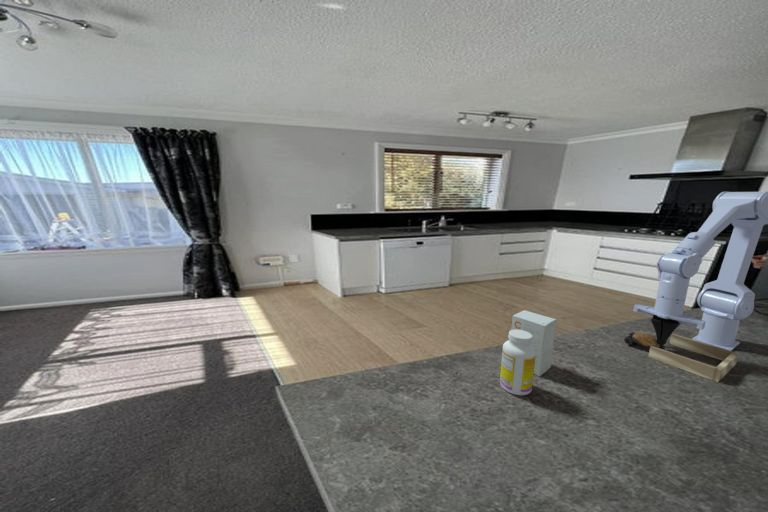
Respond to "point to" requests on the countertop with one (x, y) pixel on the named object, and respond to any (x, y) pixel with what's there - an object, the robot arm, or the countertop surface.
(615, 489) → the countertop surface
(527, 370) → the supplement bottle
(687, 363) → the frame
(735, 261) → the robot arm
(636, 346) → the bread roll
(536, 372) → the small box
